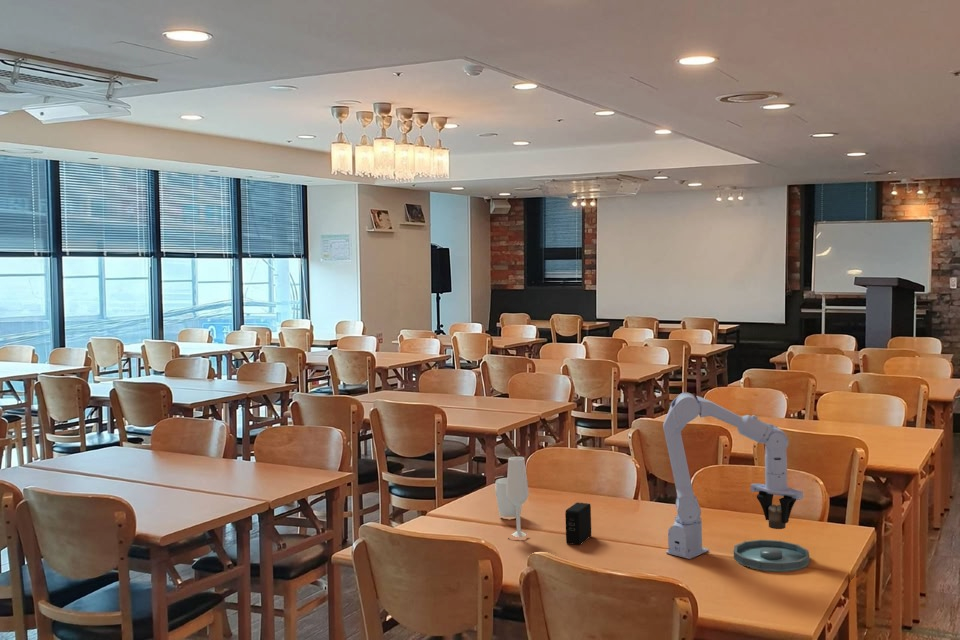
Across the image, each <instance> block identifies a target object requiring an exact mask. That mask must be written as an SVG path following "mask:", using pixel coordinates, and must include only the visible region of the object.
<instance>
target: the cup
mask: <svg viewBox="0 0 960 640" xmlns="http://www.w3.org/2000/svg"><path fill="white" fill-rule="evenodd" d="M494 490H495V498H496V503H497V508H498V513H499V516H500V515H501V516H504V517H516V506H515V505H514V504H513V503H511V502H510V501H509V499H508V498H507V496H506V491H507V477H502V478H498V479H496V480H495V488H494ZM522 505H523V504H522ZM522 505H520V515H522Z"/></svg>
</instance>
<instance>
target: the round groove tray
mask: <svg viewBox="0 0 960 640" xmlns="http://www.w3.org/2000/svg"><path fill="white" fill-rule="evenodd" d="M733 558H734V560H736V561H737V562H738V563H737V564H739V563H740V564H739V565H741V566H743V567H745V566H747V567H746V568H748V567H750V568H749V569H751V568H753V569H752V570H755V569H756V571H763V572H771V573H787V572H788V573H789V572H794V571H795V572H796V571H799V570H803V569H805V568H806V567H808V566H809V564H810V551H809V549H807V548H805V547H803V546H801V545H799V544H796V543H791V542H787V541H783V540H771V539H755V540H747V541H743V542H741V543H738V544H736V545H734V547H733ZM736 561H735V562H736Z"/></svg>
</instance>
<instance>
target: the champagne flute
mask: <svg viewBox="0 0 960 640" xmlns="http://www.w3.org/2000/svg"><path fill="white" fill-rule="evenodd" d="M507 462H508V463H507V474H506V475H507V477H506V478H507V491H506V496H507V498H508V499H509V501H510V502H511V503H513V504H514V505H515V506H516V520H515V521H516V531H515V532H513V533H512V534H511V535H513V536H515V537H524V536H526V533H525V532H523V531H522V530H521V529H522V528H521V516H520V505H523V504H524V503H526V501H527V499H528V498H529V496H530V494H529V493H530V492H529V485H528V477H527V470H526V461H525V457H523V456H511V457H508V460H507Z"/></svg>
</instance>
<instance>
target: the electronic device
mask: <svg viewBox="0 0 960 640" xmlns="http://www.w3.org/2000/svg"><path fill="white" fill-rule="evenodd" d="M591 508H592V507H591V503H588V502H575V503H574V504H572V505H571V506H570V507H568V508H567V509H565V513H564V514H565V541H566V542H565V543H566V544H568V543H573V544H572V545H576V544H579V545H578V546H581V545H582V544H583V543H585V542H586V541H587V540H588V539H589V538H588V537H590V536H591V537H592V514H591V513H592V512H591V511H592V510H591ZM591 537H590V538H591ZM587 538H588V539H587ZM586 539H587V540H586ZM585 540H586V541H585ZM584 541H585V542H584ZM582 542H583V543H582ZM581 543H582V544H581ZM580 544H581V545H580Z"/></svg>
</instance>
